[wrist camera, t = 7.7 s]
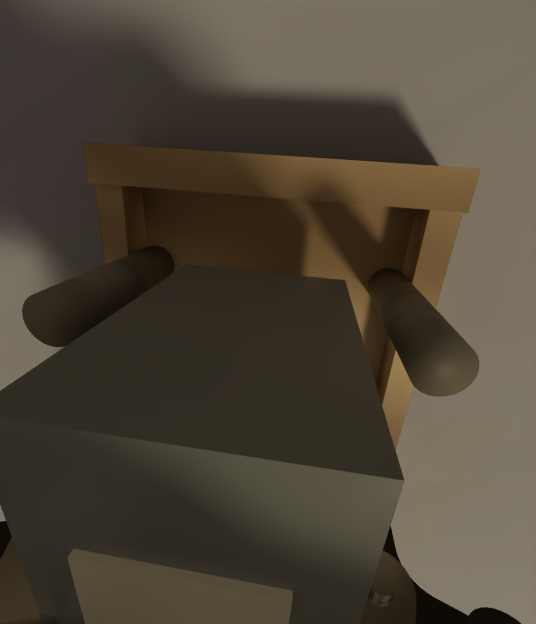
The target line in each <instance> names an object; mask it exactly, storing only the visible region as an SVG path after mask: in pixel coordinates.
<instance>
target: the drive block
mask: <svg viewBox="0 0 536 624" xmlns="http://www.w3.org/2000/svg"><path fill="white" fill-rule="evenodd" d="M403 484H404V478H403V474H402V471H401V468H400V464H399V461H398V457H397V454H396V451H395V447H394V444H393V441H392V437H391V434H390V430H389V427H388V424H387V420H386V417H385V413H384V410H383V407H382V403H381V400H380V396H379V393H378V390H377V386H376V383H375V380H374V376H373V373H372V369H371V366H370V363H369V359H368V356H367V352H366V349H365V346H364V342H363V339H362V335H361V332H360V329H359V325H358V322H357V319H356V315H355V312H354V308H353V305H352V302H351V298H350V295H349V291H348V288H347V285H346V281H345V280H340V279H330V278H320V277H310V276H300V275H290V274H280V273H270V272H260V271H250V270H240V269H231V268H221V267H211V266H201V265H191V264H186V265H184V266H183V267H182V268H180V269H179V270H177V271H176V272H174V273H173V274H171V275H170V276H168V277H167V278H165V279H164V280H162V281H161V282H160V283H158V284H157V285H155V286H154V287H152V288H151V289H149V290H148V291H146V292H145V293H143V294H142V295H140V296H139V297H137V298H136V299H135V300H133V301H132V302H130V303H129V304H127V305H126V306H124V307H123V308H121V309H120V310H118V311H117V312H115V313H114V314H112V315H111V316H110V317H108V318H107V319H105V320H104V321H102V322H101V323H99V324H98V325H96V326H95V327H93V328H92V329H90V330H89V331H88V332H86V333H85V334H83V335H82V336H80V337H79V338H77V339H76V340H74V341H73V342H71V343H70V344H68V345H67V346H65V347H64V348H63V349H61V350H60V351H58V352H57V353H55V354H54V355H52V356H51V357H49V358H48V359H46V360H45V361H43V362H42V363H40V364H39V365H38V366H36V367H35V368H33V369H32V370H30V371H29V372H27V373H26V374H24V375H23V376H21V377H20V378H18V379H17V380H15V381H14V382H13V383H11V384H10V385H8V386H7V387H5V388H4V389H2V390H1V391H0V505H1V508H2V510H3V513H4V516H5V519H6V521H7V524H8V527H9V530H10V533H11V535H12V538H13V541H14V544H15V547H16V549H17V552H18V555H19V558H20V561H21V563H22V566H23V569H24V572H25V575H26V577H27V580H28V583H29V586H30V588H31V591H32V594H33V597H34V600H35V602H36V605H37V608H38V611H39V613H43V614H47V615H52V616H56V619H57V623H58V624H360V621H361V618H362V614H363V611H364V608H365V605H366V602H367V598H368V595H369V592H370V589H371V586H372V582H373V579H374V576H375V573H376V570H377V566H378V563H379V560H380V557H381V554H382V551H383V547H384V544H385V541H386V538H387V535H388V531H389V528H390V525H391V522H392V519H393V515H394V512H395V509H396V506H397V503H398V499H399V496H400V493H401V490H402V487H403Z"/></svg>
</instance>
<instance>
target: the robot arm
mask: <svg viewBox="0 0 536 624" xmlns="http://www.w3.org/2000/svg"><path fill="white" fill-rule="evenodd" d="M0 624H58V623H57V619H56V616H52V615H47V614H43V613H39V611H38V608H37V605H36V602H35V600H34V597H33V594H32V591H31V588H30V586H29V583H28V580H27V577H26V575H25V572H24V569H23V566H22V563H21V561H20V558H19V555H18V552H17V549H16V547H15V544H14V541H13V538H12V535H11V533H10V530H9V527H8V524H7V521H2V522H0ZM360 624H521V623H520V622H519V621H517V620H516V619H514V618H513V617H511V616H510V615H508V614H506V613H504V612H502V611H500V610H497V609H494V608H488V607H483V608H478V609H475V610H474V611H472V612H471V613H470V615H469V616H468V615H466V614H464V613H462V612H460V611H459V610H457V609H455V608H453V607H451V606H449V605H447V604H446V603H444V602H442V601H440V600H438V599H436V598H434V597H433V596H431V595H430V594H428V593H427V592H425V591H424V590H423V589H421V588H420V587H419V586H418V585H417V584H416V583H415V582H414V581H413V580H412V579H411V578H410V576H409V574H408V573H407V571H406V570H405V568H404V567H403V566H402V564H401V563H400V560H399V558H398V556H397V552H396V548H395V544H394V539H393V535H392V530H391V525H390V528H389V531H388V535H387V538H386V541H385V544H384V547H383V551H382V554H381V557H380V560H379V563H378V566H377V570H376V573H375V576H374V579H373V582H372V586H371V589H370V592H369V595H368V598H367V602H366V605H365V608H364V611H363V614H362V618H361V621H360Z"/></svg>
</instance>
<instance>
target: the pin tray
mask: <svg viewBox="0 0 536 624" xmlns="http://www.w3.org/2000/svg"><path fill="white" fill-rule="evenodd" d="M83 149H84V156H85V164H86V171H87V179H88V183H95V189H96V197H97V205H98V212H99V220H100V228H101V236H102V244H103V252H104V260H105V265H103V266H101V267H98V268H96V269H94V270H91V271H89V272H86V273H84V274H81V275H79V276H77V277H74V278H72V279H69V280H67V281H65V282H62V283H60V284H57V285H55V286H52V287H50V288H48V289H45V290H43V291H40V292H38V293H36V294H33V295H31V296H29V297H28V298H27V299H26V301H25V302H24V304H23V309H22V315H23V319H24V322H25V324H26V326H27V328H28V329H29V331H30V332H31V333H32V334H33V335H34V336H35V337H36V338H37V339H38V340H40V341H41V342H43V343H45V344H47V345H50V346H54V347H64V346H67V345H68V344H70V343H71V342H73V341H74V340H76V339H77V338H79V337H80V336H82V335H83V334H85V333H86V332H88V331H89V330H90V329H92V328H93V327H95V326H96V325H98V324H99V323H101V322H102V321H104V320H105V319H107V318H108V317H110V316H111V315H112V314H114V313H115V312H117V311H118V310H120V309H121V308H123V307H124V306H126V305H127V304H129V303H130V302H132V301H133V300H135V299H136V298H137V297H139V296H140V295H142V294H143V293H145V292H146V291H148V290H149V289H151V288H152V287H154V286H155V285H157V284H158V283H160V282H161V281H162V280H164V279H165V278H167V277H168V276H170V275H171V274H173V273H174V272H176V271H177V270H179V269H180V268H182V267H183V266H184V265H186V264H191V265H201V266H211V267H221V268H231V269H240V270H250V271H260V272H270V273H280V274H290V275H300V276H310V277H320V278H330V279H340V280H345V281H346V285H347V288H348V291H349V295H350V298H351V302H352V305H353V308H354V312H355V315H356V319H357V322H358V325H359V329H360V332H361V335H362V339H363V342H364V346H365V349H366V352H367V356H368V359H369V363H370V366H371V369H372V373H373V376H374V380H375V383H376V386H377V390H378V393H379V396H380V400H381V403H382V407H383V410H384V413H385V417H386V420H387V424H388V427H389V430H390V434H391V437H392V441H393V444H394V447H395V450H396V446H397V443H398V439H399V436H400V432H401V429H402V425H403V422H404V418H405V415H406V411H407V408H408V404H409V401H410V397H411V394H412V390H413V386H414V387H415V388H417V389H418V390H419V391H421V392H422V393H425V394H427V395H431V396H449V395H453V394H456V393H458V392H461V391H462V390H464V389H465V388H467V387H468V386H469V385H470V384H471V383H472V382H473V381H474V379H475V378H476V376H477V374H478V371H479V359H478V356H477V354H476V353H475V351H474V350H473V349H472V348H471V347H470V346H469V344H468V343H467V342H466V341H465V340H464V339H463V338H462V337H461V336H460V335H459V334H458V333H457V332H456V330H455V329H454V328H453V327H452V326H451V325H450V324H449V323H448V322H447V321H446V320H445V319H444V317H443V316H442V315H441V314H440V313H439V312H438V311H437V310H436V305H437V302H438V298H439V295H440V291H441V288H442V284H443V281H444V277H445V273H446V270H447V266H448V263H449V259H450V256H451V252H452V249H453V245H454V242H455V238H456V235H457V231H458V228H459V224H460V220H461V217H462V213H463V212H464V213H468V211H469V208H470V204H471V201H472V197H473V194H474V190H475V187H476V184H477V180H478V177H479V173H480V170H481V169H478V168H463V167H447V166H432V165H417V164H402V163H387V162H372V161H357V160H342V159H327V158H312V157H297V156H281V155H266V154H251V153H236V152H221V151H206V150H191V149H176V148H161V147H146V146H131V145H116V144H100V143H85V142H83Z"/></svg>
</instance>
